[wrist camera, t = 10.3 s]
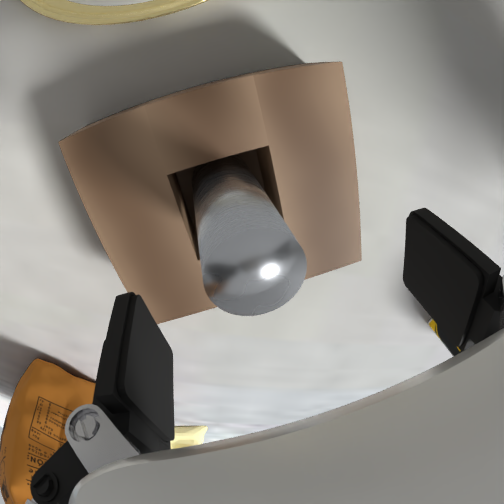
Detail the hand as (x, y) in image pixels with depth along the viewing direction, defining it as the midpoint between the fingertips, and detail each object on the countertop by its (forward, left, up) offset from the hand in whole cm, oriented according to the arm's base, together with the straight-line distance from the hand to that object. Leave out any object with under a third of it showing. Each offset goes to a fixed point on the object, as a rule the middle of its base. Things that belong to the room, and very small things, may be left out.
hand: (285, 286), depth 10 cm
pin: (+1, 0, -11) cm, 11 cm away
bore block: (+1, 0, -12) cm, 12 cm away
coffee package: (+25, +16, -12) cm, 32 cm away
